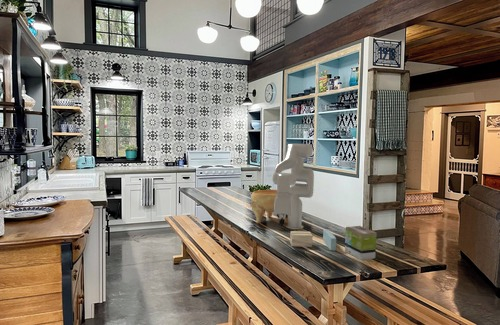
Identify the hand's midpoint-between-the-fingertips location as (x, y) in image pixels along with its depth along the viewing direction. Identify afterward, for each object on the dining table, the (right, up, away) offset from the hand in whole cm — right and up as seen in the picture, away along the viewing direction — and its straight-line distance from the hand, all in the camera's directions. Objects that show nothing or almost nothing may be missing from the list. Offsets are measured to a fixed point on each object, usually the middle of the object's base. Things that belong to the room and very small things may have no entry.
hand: (281, 225), depth 219 cm
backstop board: (+29, -12, +2) cm, 31 cm away
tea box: (+42, -14, -15) cm, 47 cm away
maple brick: (+12, -12, +2) cm, 17 cm away
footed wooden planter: (-2, -7, +61) cm, 62 cm away
